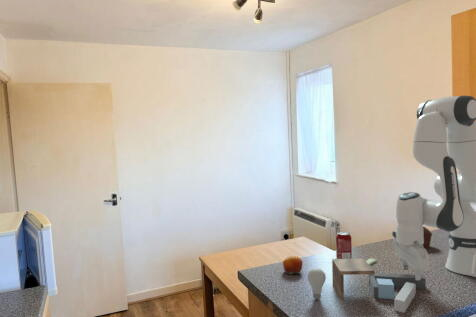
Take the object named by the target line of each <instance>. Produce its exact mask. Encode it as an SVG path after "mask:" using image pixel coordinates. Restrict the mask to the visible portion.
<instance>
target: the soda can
mask: <svg viewBox="0 0 476 317" xmlns="http://www.w3.org/2000/svg"><path fill="white" fill-rule="evenodd" d="M336 233H337V234H336V236H335V246H336V247H335V258H336V259H353V257H352V255H353V253H352V252H353V251H352V250H353V249H352V236H351V233H350V232H349V231H345V230H341V231H337V232H336Z"/></svg>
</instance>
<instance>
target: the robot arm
mask: <svg viewBox="0 0 476 317" xmlns="http://www.w3.org/2000/svg"><path fill="white" fill-rule="evenodd" d="M416 118H417V121H416V124H415V129H414V132H413V141H412V142H413V143H412V153H413V154H412V155H413V158H414V159H415V160H416V161H417V163H418V164H420V165H421V166H422V167H425V168H427V169H429V170H431V171H433V172H435V173H436V175H437V177H436V178H435V179H434V184H433V188H434V191H435V193H436V194H437V195H438V196H439V197H440V198H441V199H442V201H440V200H439V201H438V200H434V199H433V200H432V199H428V198H424V197H423V196H421V194H420V193H418V192H413V191H412V192H411V191H409V192H403V193H401V194H399V196H398V197H397V201H396V207H395V208H396V212H395V214H396V220H397V226H396V230H392V232H391V235H392V237H393V240H392V242H393V250H394V253H395V254H396V256H398V257H399V259H400V262H401V269H403V270H404V271H408V270H409V266H411V267H412V268H413V269H414V271H415V272H414V273H413V275H414V279H415V280H421V275H423V273H424V272H426V273H427V272H429V270H430V262H429V254H428V251H427V249H424V246H423V245H422V244H423V243H424V230H423V227H424V226H427V227H430V228H431V227H432V228H436V229H439V230H442V231H446V232H449V233H448V247H449V248H448V254H447V258H446V263H445V266H444V267H445V268H446V269H447V270H449V271H451V272H453V273H456V274H459V275H465V276H469V277H473V278H476V210H475V209H474V208H473V206H472V204H471V203H473V204H476V98H475V97H473V96H472V95H459V96H457V95H456V96H445V97H441V98H436V99H429V100H426V101H424V102H422V103H421V102H420V104H419V106H418V108H417V109H416ZM457 170H458V171H457ZM458 172H459V173H458ZM423 225H424V226H423Z"/></svg>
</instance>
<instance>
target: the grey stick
mask: <svg viewBox="0 0 476 317" xmlns="http://www.w3.org/2000/svg"><path fill="white" fill-rule="evenodd" d="M416 291H417V289H416V284H414V283H409V282H406V283H405V285H404V286H403V287H402V288H400V290H399V292H398V293H397V295H395V296H394V299H393V300H394V301H393V302H394V303H393V306H394V307H393V309H394V311H396V312H399V313H404V314H405V313H406V311H407V309H408V308H409V306H410V304H411V303H412V301H413V300H412V299H414V298H415V296H416V295H417V293H416ZM415 294H416V295H415Z"/></svg>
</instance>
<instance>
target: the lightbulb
mask: <svg viewBox="0 0 476 317" xmlns="http://www.w3.org/2000/svg"><path fill="white" fill-rule="evenodd" d="M326 279H327V278H326V274H325V272H324V271H323V270H322V269H321V268H319V267H313V268H311V269H310V270H309V271H308V272H307V281H308V282H309V285H310V286H311V292H312V296H313V297H312V298H313V299H314V300H316V301H318V300H320V299H321V298H322V292H323V291H322V290H323V289H322V288H323V286H324V284H325V282H326Z"/></svg>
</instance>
